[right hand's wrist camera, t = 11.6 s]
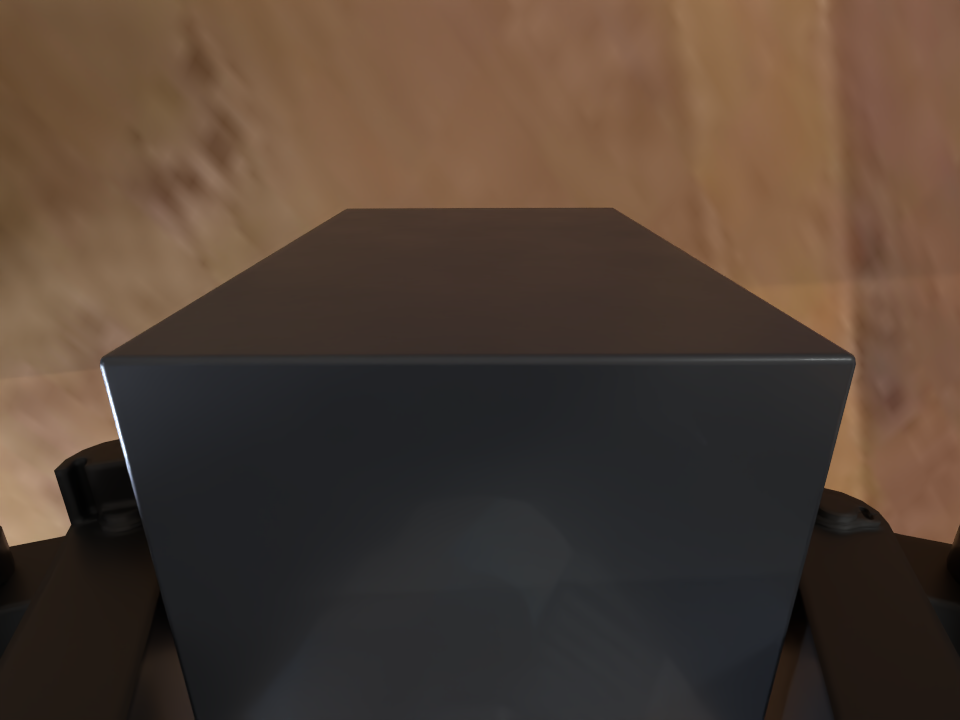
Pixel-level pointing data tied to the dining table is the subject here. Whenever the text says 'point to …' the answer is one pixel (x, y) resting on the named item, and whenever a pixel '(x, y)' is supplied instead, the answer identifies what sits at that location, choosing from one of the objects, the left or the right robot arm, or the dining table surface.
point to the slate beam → (478, 473)
